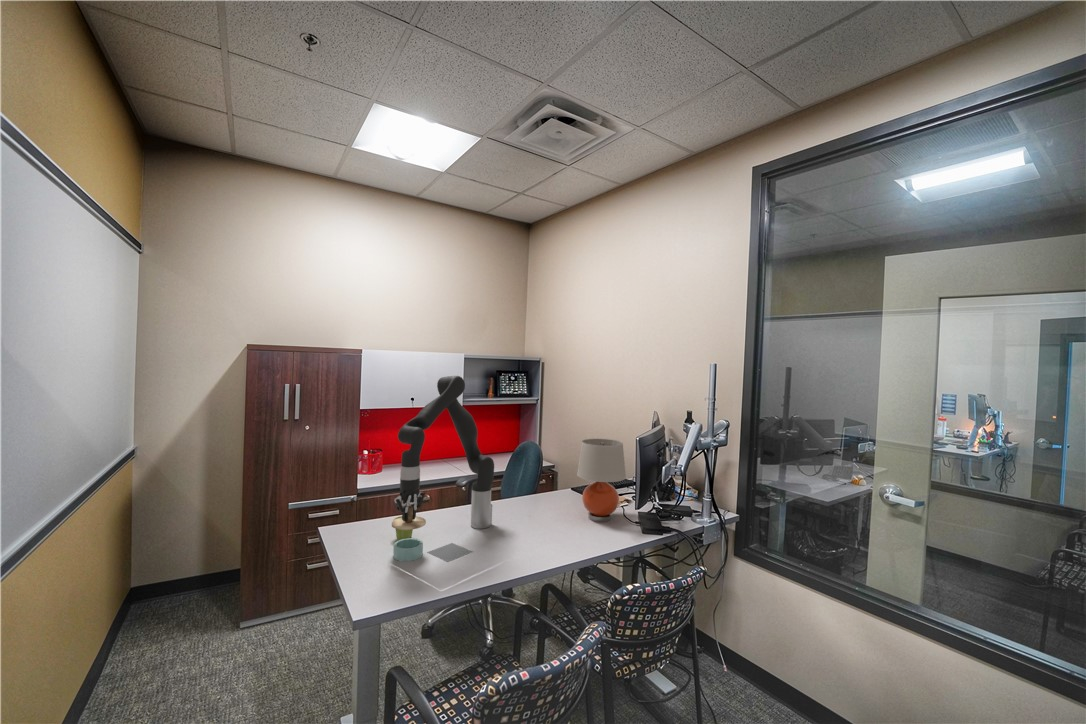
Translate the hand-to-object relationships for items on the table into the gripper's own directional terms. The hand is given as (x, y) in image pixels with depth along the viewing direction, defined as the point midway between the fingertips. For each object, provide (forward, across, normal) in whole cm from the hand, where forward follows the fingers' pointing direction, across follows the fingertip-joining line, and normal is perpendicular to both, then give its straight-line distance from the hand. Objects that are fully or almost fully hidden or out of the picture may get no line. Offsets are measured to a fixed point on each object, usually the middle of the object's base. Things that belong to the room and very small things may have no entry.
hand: (408, 520), depth 182 cm
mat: (+14, -13, +10) cm, 22 cm away
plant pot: (+15, -9, -16) cm, 23 cm away
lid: (+2, 0, 0) cm, 2 cm away
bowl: (+14, 0, 0) cm, 14 cm away
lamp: (+14, -92, +32) cm, 99 cm away
